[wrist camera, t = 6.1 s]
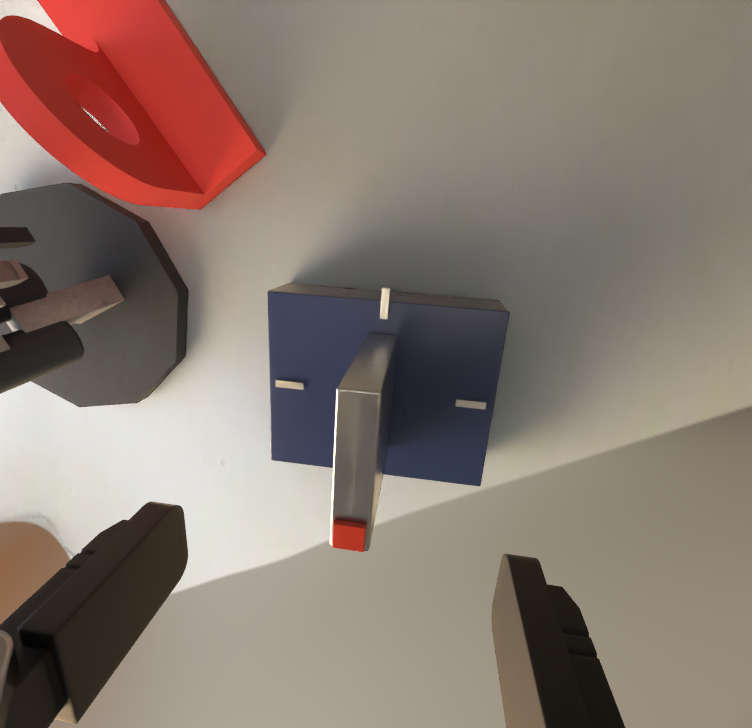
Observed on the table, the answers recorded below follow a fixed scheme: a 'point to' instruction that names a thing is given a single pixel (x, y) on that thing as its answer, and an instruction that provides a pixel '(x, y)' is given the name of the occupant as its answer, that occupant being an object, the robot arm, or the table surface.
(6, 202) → the gun turret
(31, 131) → the bracket
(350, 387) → the grey slab
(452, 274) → the table surface
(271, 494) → the table surface
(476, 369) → the switch box
